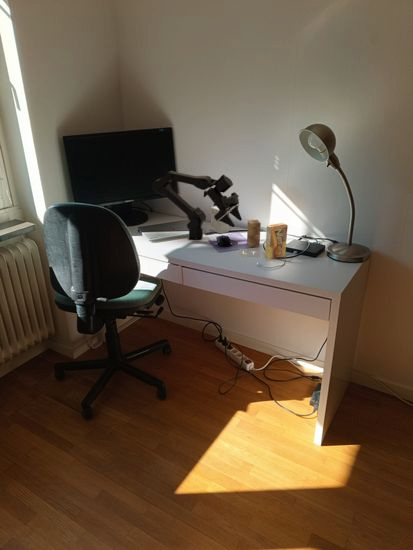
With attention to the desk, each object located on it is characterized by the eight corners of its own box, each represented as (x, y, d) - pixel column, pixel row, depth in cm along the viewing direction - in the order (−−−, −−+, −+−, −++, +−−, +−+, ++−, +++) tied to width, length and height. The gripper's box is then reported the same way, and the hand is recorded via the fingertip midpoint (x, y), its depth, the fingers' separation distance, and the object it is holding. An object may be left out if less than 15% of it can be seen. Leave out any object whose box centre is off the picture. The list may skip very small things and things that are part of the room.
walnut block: (249, 248, 204) (250, 223, 198) (246, 244, 208) (247, 220, 203) (259, 247, 205) (260, 222, 199) (256, 243, 209) (257, 219, 204)
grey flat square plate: (238, 257, 194) (238, 256, 193) (238, 249, 203) (238, 248, 202) (260, 257, 193) (260, 257, 192) (259, 249, 202) (259, 249, 201)
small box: (229, 231, 226) (229, 208, 220) (220, 234, 222) (220, 210, 217) (219, 227, 232) (219, 205, 226) (210, 230, 228) (210, 207, 222)
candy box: (280, 253, 197) (282, 222, 191) (285, 256, 194) (288, 225, 187) (264, 256, 194) (266, 225, 187) (269, 259, 190) (271, 227, 184)
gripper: (220, 194, 191) (242, 220, 192) (236, 183, 206) (255, 208, 207) (205, 207, 198) (225, 233, 199) (221, 196, 213) (240, 220, 214)
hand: (237, 223), depth 205 cm, fingers open, 9 cm apart
